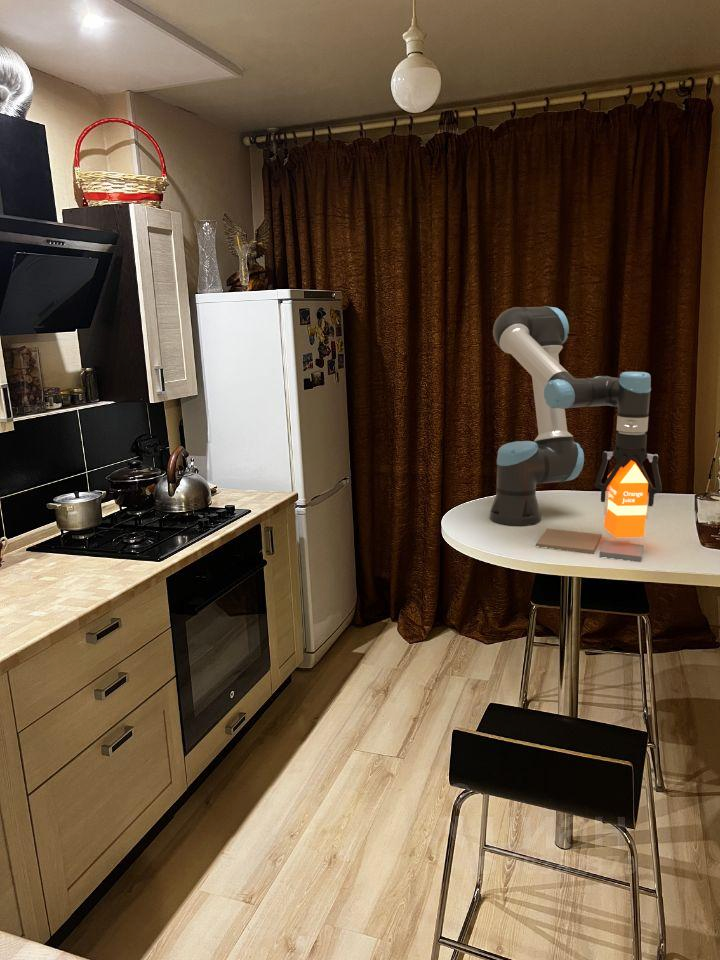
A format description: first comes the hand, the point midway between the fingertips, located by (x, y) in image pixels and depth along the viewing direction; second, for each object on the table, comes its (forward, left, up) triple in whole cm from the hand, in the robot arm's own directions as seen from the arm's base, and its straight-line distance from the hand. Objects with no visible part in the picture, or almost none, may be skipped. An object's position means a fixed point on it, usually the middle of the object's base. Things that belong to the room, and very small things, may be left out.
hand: (625, 515), depth 194 cm
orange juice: (0, 0, -5) cm, 5 cm away
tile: (0, -7, -8) cm, 10 cm away
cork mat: (-14, -2, -8) cm, 16 cm away
